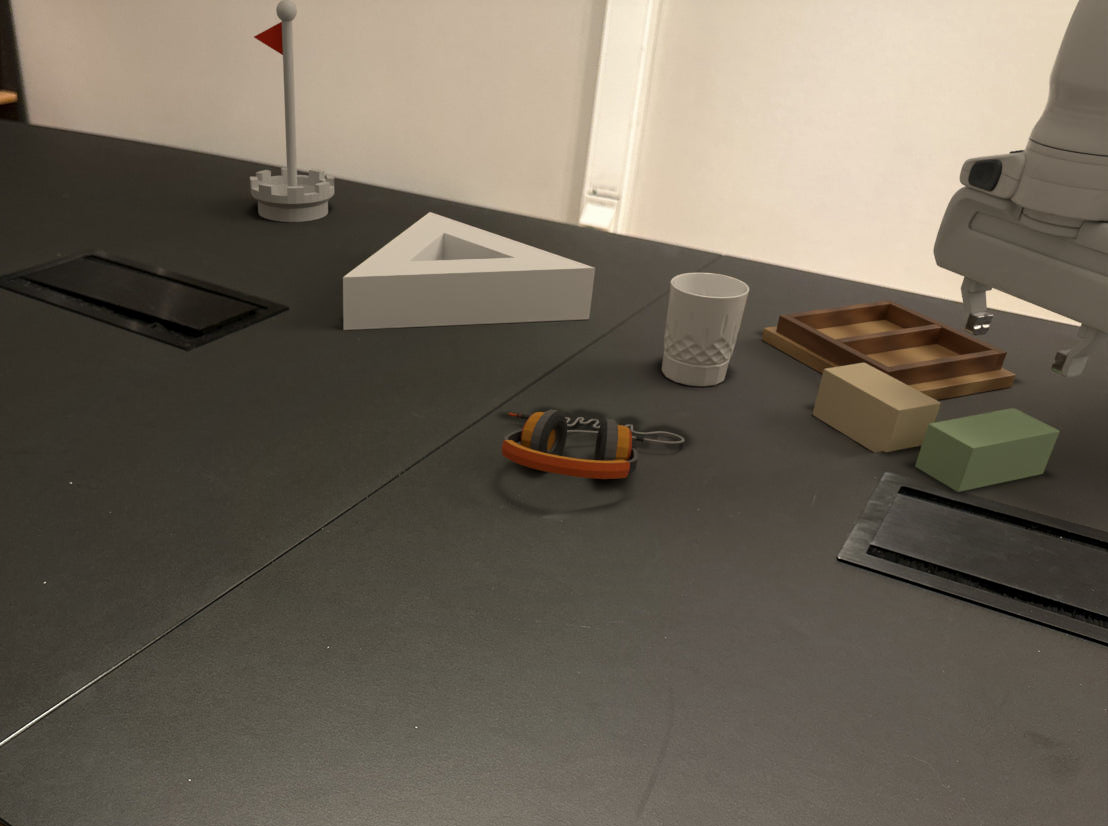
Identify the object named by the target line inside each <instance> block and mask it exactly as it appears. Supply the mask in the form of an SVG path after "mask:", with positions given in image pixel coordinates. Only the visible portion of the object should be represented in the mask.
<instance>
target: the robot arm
mask: <svg viewBox="0 0 1108 826" xmlns="http://www.w3.org/2000/svg"><path fill="white" fill-rule="evenodd" d="M959 182H960V185H962V187H961V188H959V189H958V190H956V192H954V194H952V197H951V198H950V200H949V202H948V204H947V206H946V209H945V211H944V214H943V216H942V219H941V222H940V225H939V228H938V230H937V233H936V237H935V240H934V245H933V250H932V251H933V252H932V253H933V256H934V260H935V264H936V266H937V267H939V268H941V269H944V270H946V271H949V272H951V273H953V274H957V275H959V276H961V277H963V279H962V283H961V285H960V293H961V294H960V295H961V298H962V305H963V309H964V315H963V317H962V320H961V323H960V331H962V332H964V333H967V334H971V335H972V336H979V335H980V336H983V335H986V334H987V333H988V332H989V331H990V324H991V323H992V321H993V319H994V316H995V314H993V313H991V312H989V311H988V306H987V292H989V291H992V290H993V289H994V290H997V291H999V292H1002V293H1004V294H1007V295H1008V296H1009V295H1010V296H1011V297H1014V298H1016V299H1019V300H1021V301H1024V302H1027V303H1029V304H1031V305H1034V306H1037V307H1040V308H1042V309H1044V310H1047V311H1049V312H1051V313H1054V314H1057V315H1059V316H1061V317H1064V318H1067V319H1069V320H1071V321H1074V322H1077V323H1080V326H1079V329H1078V331H1077V337H1079V338H1081V340H1080V341H1079V342H1078V343H1077V344H1076V345H1074V347H1073V348H1068V349H1062V350H1057V351H1056V354H1055V357H1054V362H1053V363H1052V364H1051V366H1050V367H1051V368H1050V370H1051V371H1052V372H1054V373H1057V374H1059V375H1061V376H1063V377H1066V378H1067V379H1069V378H1075V377H1079V376H1080V375H1081V374H1082V373H1083V371H1084V369H1085V366H1086V364H1087V362H1088V359H1089V357H1090V356H1092V355H1094V353H1096V352H1097V351H1099V350H1100V349H1101V348H1102V347H1104V346H1105V345H1107V344H1108V0H1078V1H1077V3H1076V6H1075V8H1074V10H1073V12H1072V14H1071V17H1070V19H1069V22H1068V24H1067V26H1066V29H1065V31H1064V34H1063V37H1062V39H1061V42H1060V45H1059V48H1058V51H1057V54H1056V57H1055V59H1054V62H1053V65H1052V69H1051V72H1050V75H1049V81H1048V96H1047V101H1046V104H1045V106H1044V109H1043V111H1042V113H1041V116H1040V117H1039V119H1038V120H1037V122H1036V123H1035V124H1034V126H1033V128H1032V130H1031V131H1030V134H1029V137H1028V140H1027V142H1026V145H1025V148H1024V149H1019V150H1011V151H1009V153H1000V154H992V155H985V156H976V157H970V158H967V159H966V160H965V161H964V162H963V164H962V166H961V169H960V172H959Z"/></svg>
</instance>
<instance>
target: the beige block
mask: <svg viewBox="0 0 1108 826" xmlns="http://www.w3.org/2000/svg"><path fill="white" fill-rule="evenodd" d="M821 375H822V376H821V379H820V384H819V386H818V391H817V395H816V399H815V403H814V406H813V411H812V416H813V417H815V418H817V419H818V420H820V421H822V422H824V423H825V424H826V425H828V426H830V427H832V428H833V429H834V430H836V431H838V432H840V433H841V434H843V435H845V436H846V437H848V438H849V439H851V440H852V441H854V442H856V443H857V444H859V445H861V446H863V447H864V448H866V449H868V450H869V451H870V452H872V453H875V454H876V453H881V452H885V453H890V452H895V451H899V450H906V449H911V448H915V447H921V446H922V443H923V440H924V437H925V434H926V431H927V428H928V425H929V424H930V423H935V422H936V420H937V417H938V413H939V411H940V408H941V405H942V402H941V401H940V400H935V399H933V398H931V397H929V396H927V395H925V394H923V393H922V392H920V391H918V390H916V389H914V388H912V387H910V386H908V385H906V384H904V383H902V382H901V381H899V380H897V379H895V378H893V377H891V376H889V375H887V374H885V373H883V372H881V371H880V370H878V369H876V368H874V367H872V366H870V365H868V364H866V363H858V364H852V365H845V366H839V367H833V368H827V369H824V371H823V374H821Z"/></svg>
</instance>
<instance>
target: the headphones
mask: <svg viewBox="0 0 1108 826" xmlns="http://www.w3.org/2000/svg"><path fill="white" fill-rule="evenodd" d="M507 416H510V417H516V418H518V419H523V420H526V421H525V423H524V425H523V427H522V429H518V430H513V431H512V432H510V433H508V434H506V435H504V439H503V441H502V445H501V454H502V456H503V457H504V458H505V459H507V460H509V461H511V462H513V463H515V464H518V465H520V466H524V467H526V468H530V469H534V470H538V471H541V472H547V473H552V474H556V475H562V476H570V477H574V478H575V477H576V478H582V479H583V478H585V479H597V480H614V479H626V478H627V477H628V475H629V474H632V473H634V472H636V470H637V465H638V460H639V452H638V450H637V443H636V442H633V440H635V441H637V442H644V441H645V442H650V443H657V444H666V445H678V444H683V443H685V438H684V437H683V436H681V435H679V434H676V433H673V432H669V431H661V430H660V431H649V432H648V431H647V432H641V431H636V430H634V425H633V424H629V423H628V424H625V425H622V424H621V425H620V424H618V423H617V421H616V420H615V419H612V418H611V419H610V418H605V419H604V420H603V421H602V422H601V423H600V421H599V419H596V418H590V419H588V420H587V421H585V418H584V417H583V416H579V417H576V419H575V420H574V422H572V423H570V424H569V422H570V421H571V417H568V416H567V417H566V416H565V414H564V412H562V411H561V410H557V409H548V410H546V411H544V412H543V411H536V412H534V413H532V414H531V415H528V414H523V413H512V412H508V413H507ZM591 422H595V423H594V424H592V428H593V429H595V430H582V429H570V430H569V429H568V428H569V427H573V426H575V425H576V424H577V423H579V424H580V425H587V424H590V423H591ZM599 423H600V425H598V424H599ZM597 425H598V426H597ZM569 433H577V434H578V433H579V434H595V435H596V434H597V435H596V439H595V440H596V441H595V448H594V456H593V459H586V458H585V459H583V458H576V457H568V456H563V452H564V449H565V446H566V443H567V438H568V434H569ZM633 434H635V435H636V436H634V435H633ZM640 435H641V436H640ZM646 435H647V436H649V435H650V436H651V435H668V436H672V437H676V438H678V439H680V440H679V441H678V440H677V441H669V440H660V439H658V440H657V439H651V438H645V436H646Z"/></svg>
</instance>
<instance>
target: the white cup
mask: <svg viewBox="0 0 1108 826" xmlns="http://www.w3.org/2000/svg"><path fill="white" fill-rule="evenodd" d="M749 292H750V286H749V285H748V284H747V283H745V282H744V281H742V280H740V279H738V278H736V277H732V276H730V275H726V274H721V273H713V272H687V273H681V274H677V275H675V276H674V277H672V278H671V279H670V284H669V293H668V301H667V309H666V318H665V327H664V337H663V338H664V339H663V346H664V347H663V348H664V349H663V354H662V355H663V356H662V363H661V372H662V373H663V375H664V377H666V378H667V379H669V380H670V381H673V382H675V383H677V384H682V385H686V386H690V387H710V386H717V385H718V384H721V383H722V382H724V381H725V379H726V376H727V372H728V368H729V364H730V361H731V358H732V357H733V353H734V350H735V349H734V348H735V346H736V343H737V339H738V334H739V332H740V329H741V324H742V320H743V316H744V313H745V308H746V305H747V301H748V297H749Z"/></svg>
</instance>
